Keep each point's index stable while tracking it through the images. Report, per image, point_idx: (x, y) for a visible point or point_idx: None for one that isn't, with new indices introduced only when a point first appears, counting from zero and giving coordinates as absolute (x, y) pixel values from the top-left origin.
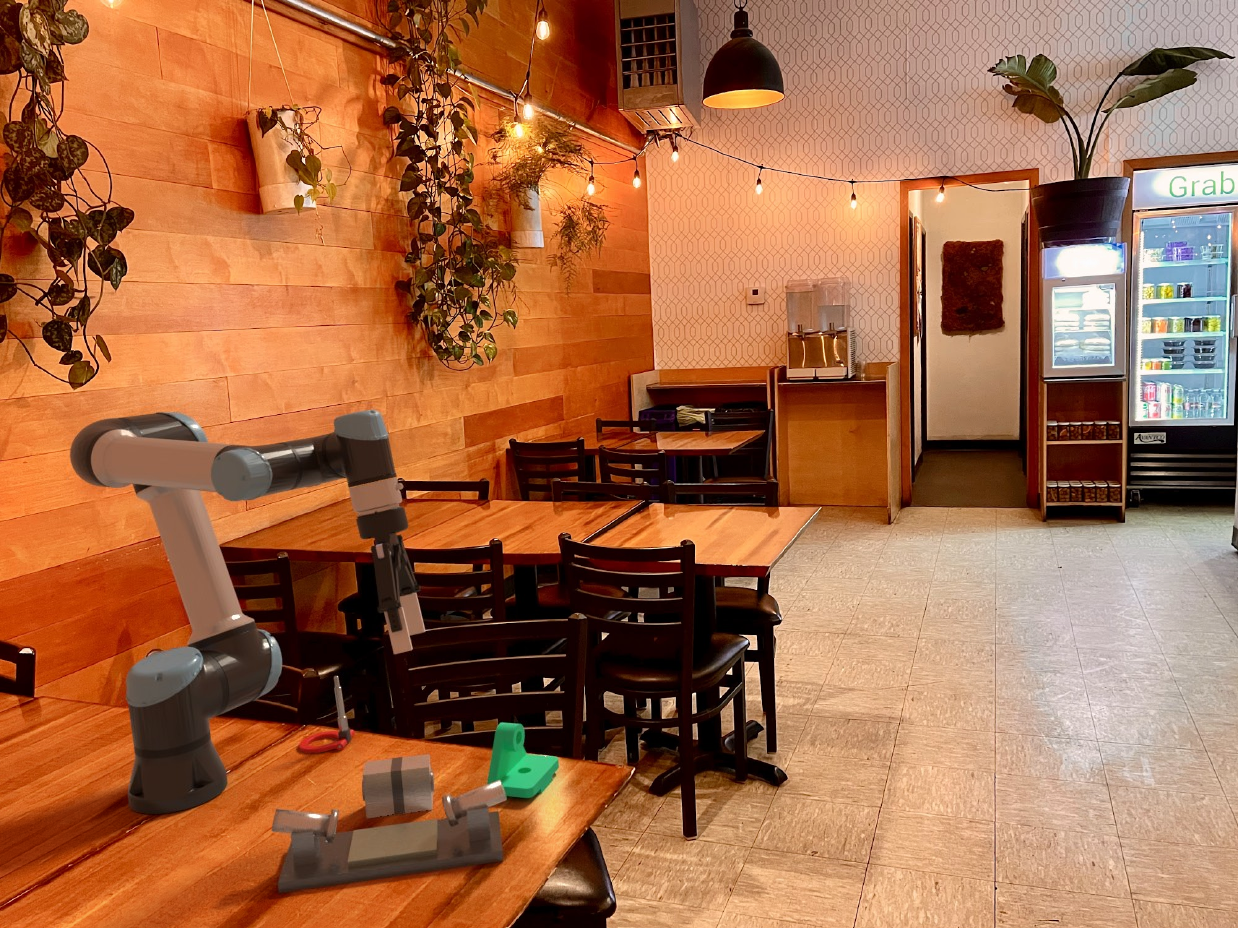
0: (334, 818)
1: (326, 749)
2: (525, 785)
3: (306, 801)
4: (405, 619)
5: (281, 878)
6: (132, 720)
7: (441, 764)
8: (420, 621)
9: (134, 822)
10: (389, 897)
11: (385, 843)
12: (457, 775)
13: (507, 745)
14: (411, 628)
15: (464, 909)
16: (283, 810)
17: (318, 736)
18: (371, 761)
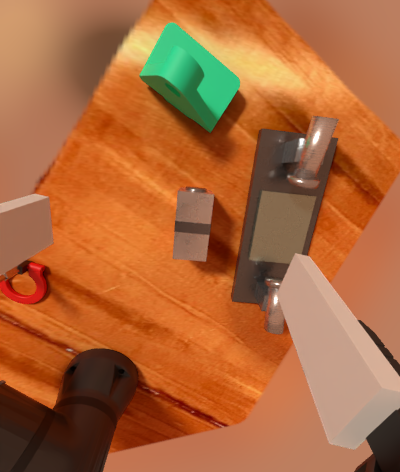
0: None
1: (44, 280)
2: (231, 86)
3: (151, 291)
4: (344, 324)
5: None
6: None
7: (109, 171)
8: (18, 213)
9: (144, 392)
10: (335, 233)
11: (284, 236)
12: (143, 158)
13: (198, 86)
14: (37, 239)
15: (382, 182)
16: (277, 327)
17: (8, 288)
18: (174, 252)
